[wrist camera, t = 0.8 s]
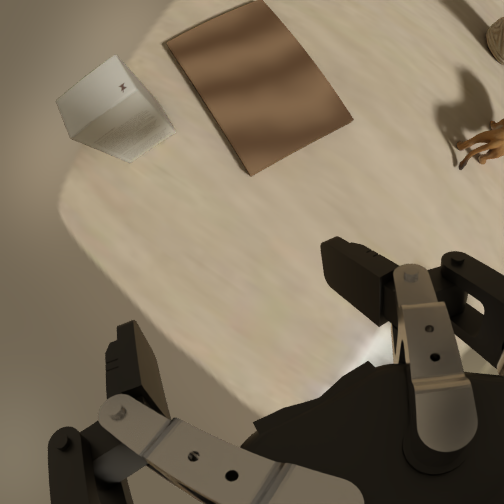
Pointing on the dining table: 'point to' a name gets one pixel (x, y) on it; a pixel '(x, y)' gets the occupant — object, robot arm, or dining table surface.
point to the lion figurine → (499, 143)
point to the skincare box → (114, 112)
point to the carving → (496, 40)
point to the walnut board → (259, 84)
